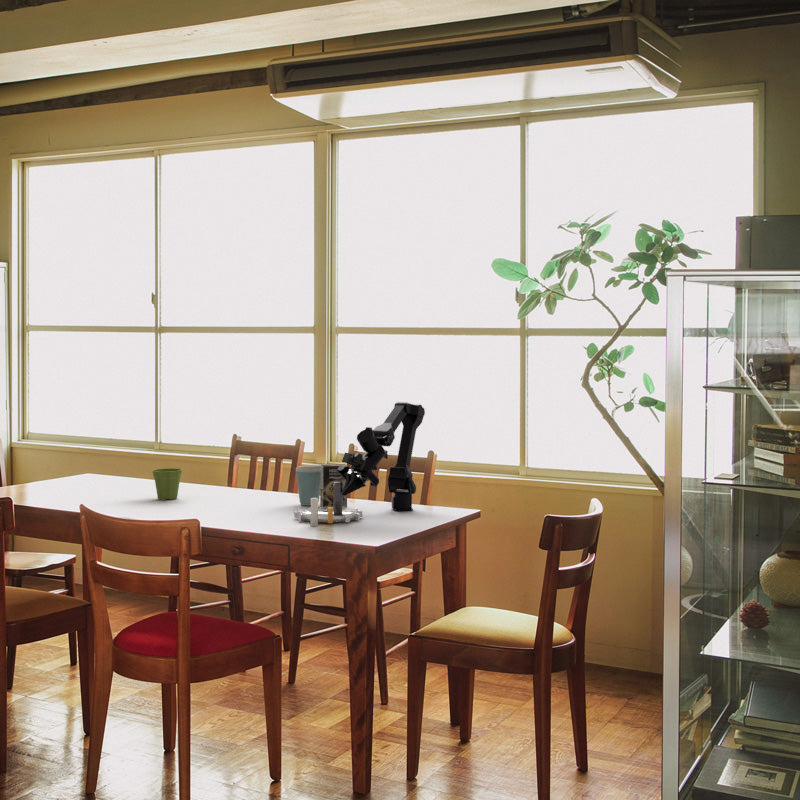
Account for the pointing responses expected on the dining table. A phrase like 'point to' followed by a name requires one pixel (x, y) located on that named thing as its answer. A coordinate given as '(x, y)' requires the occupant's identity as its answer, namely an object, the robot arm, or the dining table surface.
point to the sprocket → (332, 510)
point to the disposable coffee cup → (308, 483)
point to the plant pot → (167, 482)
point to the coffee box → (330, 484)
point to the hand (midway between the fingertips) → (342, 494)
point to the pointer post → (314, 511)
